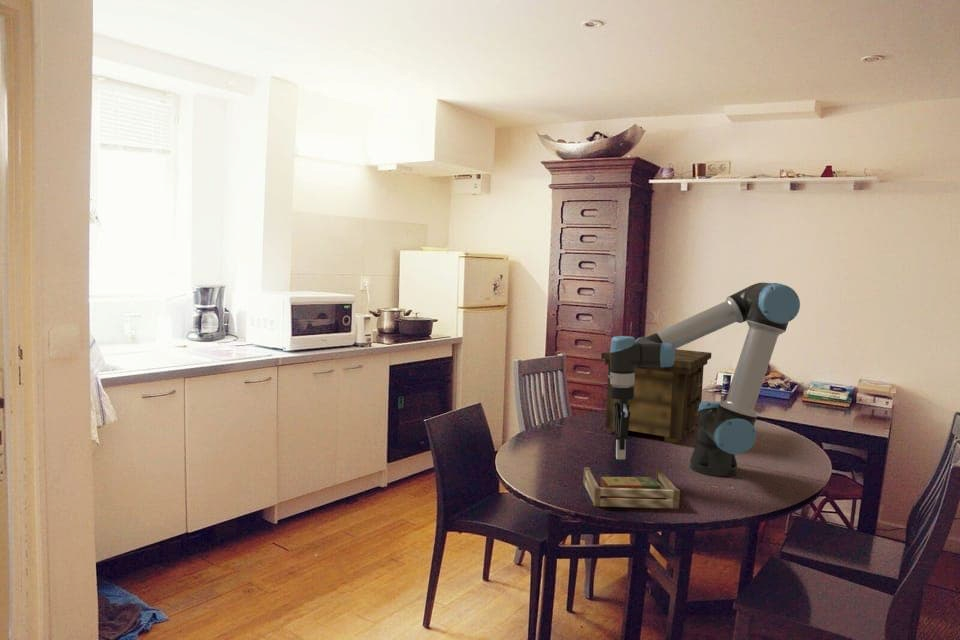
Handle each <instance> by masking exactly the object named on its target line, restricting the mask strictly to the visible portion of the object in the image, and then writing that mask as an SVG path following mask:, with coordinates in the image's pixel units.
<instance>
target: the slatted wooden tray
mask: <svg viewBox="0 0 960 640" xmlns="http://www.w3.org/2000/svg"><path fill="white" fill-rule="evenodd" d="M654 480H655V481H656V482H657V483H658V484H659V485H661V489H635V488H602V487H600V485H598V482H597V481H596V479H595V478H594V476H593V473H592V471H591V468H590V467H587V466H586V467H583V480H582V481H583V486H584V487H585V489H586V491H587V493H588V495H589V497H590V499H591V501H592V505H593V507H599V508H600V507H608V508H609V507H613V508H614V507H615V508H643V509H644V508H645V509H673V510H675V509H676V510H679V509H680V495H681V490H680V489H679V488H677V487H676V486H675V485H674V484H673V483H672V482H671V481H670V479H669V478H668V477H667V476H666V474H665V473H664V472H663V470H662V469H655V479H654ZM606 496H621V497H654V498H607V497H606Z"/></svg>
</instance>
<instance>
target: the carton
mask: <svg viewBox="0 0 960 640" xmlns="http://www.w3.org/2000/svg"><path fill="white" fill-rule="evenodd" d="M599 486H600V487H602V488H635V489H661V485H659V484H658V483H657V482H656V481H655V479H654V478H652V477H651V476H600V482H599ZM605 498H623V499H655V498H654V497H621V496H605Z"/></svg>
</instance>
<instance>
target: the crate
mask: <svg viewBox="0 0 960 640" xmlns="http://www.w3.org/2000/svg"><path fill="white" fill-rule="evenodd" d="M674 350H675V361H674V364H673V365H672V366H671V367H663V368H661V367H635V384H634V385H633V387H634V398H633V399H629V400H628V401H627V402H628V404H629V411H630V413H631V414H630V418H629V430H628V432H629V431H631V432H637V433H643V434H648V435H654V436H659V437H664V440H663V441H664V442H666V443H672V444H676V445H677V444H678V443H679V442H681V441H682V440H683V439H685V437H686V434H687V433H691V432H692V431H693V429H694V428H695V427H698V410H699V404H700V403H701V402H702V400H703V398H702V396H703V383H704V382H703V381H704V380H703V379H704V367H705V366H706V365H708V361H709V360H711V359H712V352H710V351H709V352H708V351H696V350H687V349H686V350H685V349H678V348H676V349H674ZM600 357H601V358H600V359H601V360H604V365H606V366H607V367H608V368H607V369H608V370H607V389H606V407H605V408H606V409H605V426H604V427H605V428H608V429H612V434H613V433H614V434H615V424H614V406H613V404H614V403H616V399H613V398H611V397H610V386H611V384H610V378H609V377H608V376H609V375H611V374H610V350H607V351H603V352H601V355H600Z"/></svg>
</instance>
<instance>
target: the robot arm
mask: <svg viewBox="0 0 960 640" xmlns="http://www.w3.org/2000/svg"><path fill="white" fill-rule="evenodd" d="M798 295H799V294H798V293H797V292H796V291H795V290H794V288H792V287H790V286H788V285H786V284H782V283H777V282H758V283H754V284H751V285H749V286H747V287H745V288H743V289H741V290H739V291H738V292H735V293H733V294H731V295H729V296H727V297H726V299H725V301H723V302H720V303H719V304H716V305H714V306H712V307H709V308H708V309H706V310H703V311H700V312H698V313H696V314H694V315H692V316H690V317H688V318H685V319H683V320H681V321H679V322H677V323H675V324H672V325H669V326H668V327H666V328H664V329H662V330H659V331H657V332H655V333H653V334H650V335H648V336H641V337H638V338H637V339H636V338H635V337H633V336H630V335H628V336H627V335H618V336H617V335H615V336H613V337H611V340H610V350H609V351H610V374H611V375H609V376H608V375H607V378H608V377H609V378H610V384H611V386H610V397H611V398H613V399H616V403H614V404H613V406H614V424H615V433H614V434H615V441H616V442H615V458H616V460H626V458H627V457H626V455H627V454H626V453H627V452H626V451H627V448H626V447H627V440H628V439H629V418H630V414H631V413H630V411H629V404H628V402H627V401H628V400H629V399H633V398H634V387H633V385H634V384H635V367H661V368H663V367H671V366H672V365H673V364H674V361H675V350H674V349H678V348H681V347H682V346H684V345H688V344H690V343H692V342H694V341H696V340H698V339H701V338H703V337H705V336H708V335H710V334H711V333H714V332H716V331H720V330H722V329H723V328H726V327H727V326H730V325H732V324H735V323H739V324H742V323H744V322H746V324H747V325H748V330H747V334H746V336H745V339H744V342H743V344H742V345H743V346H742V349H741V352H740V356H739V357H738V361H737V364H736V367H735V371H734V373H733V377H732V379H731V382H730V386H729V388H728V390H727V391H728V392H727V395H726V398H725V400H722V401H715V400H714V401H710V400H709V401H701V403H700V404H699V410H698V426H696V428H697V430H696V445H695V447H694V449H693V452H692V454H691V456H690V459H689V468H690V470H691V469H692V470H693V471H695V472H697V473H700V474H705V475H708V476H715V477H732V476H735V475H736V474H738V462H737V458H736V455H741V454H744V453H746V452H748V451H749V450H751V449H752V448H753V447H754V445H755V443H756V440H757V432H756V428H755V424H756V421H757V418H758V415H757V413H756V411H755V407H756V404H757V400H758V398H759V394H760V392H761V389H762V386H763V383H764V380H765V377H766V374H767V371H768V367H769V366H770V365H769V364H770V363H771V358H772V355H773V353H774V350H775V346H776V344H777V341H778V337H779V336H780V335H782V334H784V333H786V332H787V331H786V330H787V328H788V325H789V323H790V322H791V321H792V320H794V319H795V318H796V316H798V314H799V312H800V307H801V301H800V300H801V299H800V297H799V296H798Z"/></svg>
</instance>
